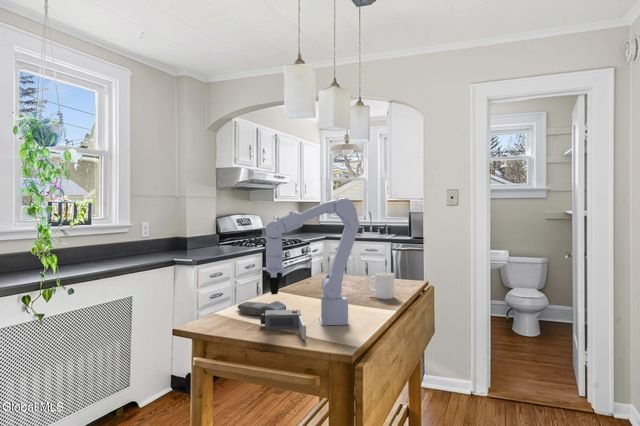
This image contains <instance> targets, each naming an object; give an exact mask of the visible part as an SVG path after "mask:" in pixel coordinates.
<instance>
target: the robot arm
mask: <svg viewBox="0 0 640 426" xmlns="http://www.w3.org/2000/svg"><path fill="white" fill-rule="evenodd" d="M324 214H330V215H335V214H336V216H338V217H339V218H340V220H341V221H342V224H343V226H344V227H343V231H342V234H341V237H340V240H339V243H338V246H337V248H336V251H335V255H334V257H333V260H332V263H331V266H330V269H328V272H327V274H326V276H325V277H324V278H323V279H322V281H321V288H322V290H323V292H322V294H321V297H320V298H321V305H320V306H321V308H320V309H321V315H320V316H321V317H319V322H320V323H319V324H320V326H343V325H346V326H348V325H349V299H348V296H342V291H343V287H342V284H343V280H344V273H345V271H346V270H345V269H346V266H347V263H348V261H349V258H350V255H351V252H352V249H353V246H354V243H355V240H356V238H357V234H358V232H359V228H360V220H359V217H358V214H357V208H356V206H355V204H354V203H353V202H352V200H351V199H349V198H345V197H337V198H336V199H332V200H327V201H324V202H322V203H319V204H318V205H315V206H313V207H312V208H309V209H307V210H304V211H302V212H298V211H293V210H291V211H288V214H285V215H283V216H281V217H279V216H277V217H276V218H275V220H270V221H269V222H268V223H266V225H265V234H266V236H265V240H266V242H265V267H262V271H266V272H267V273H266V274H265V277H266V279H267V282H268V283H269V289H270V291H269V292H270V294H271V295H273V296H274V295H278V294H279V287H280V283H281V280H282V278H283V271H284V267H283V263H284V261H283V241H282V234H287V233H290V232H292V231H294V230H297V229H300V228H301V227H303V226H304V222H306V221H308V220H312V219H314V218H316V217H319V216H321V215H324Z"/></svg>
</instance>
